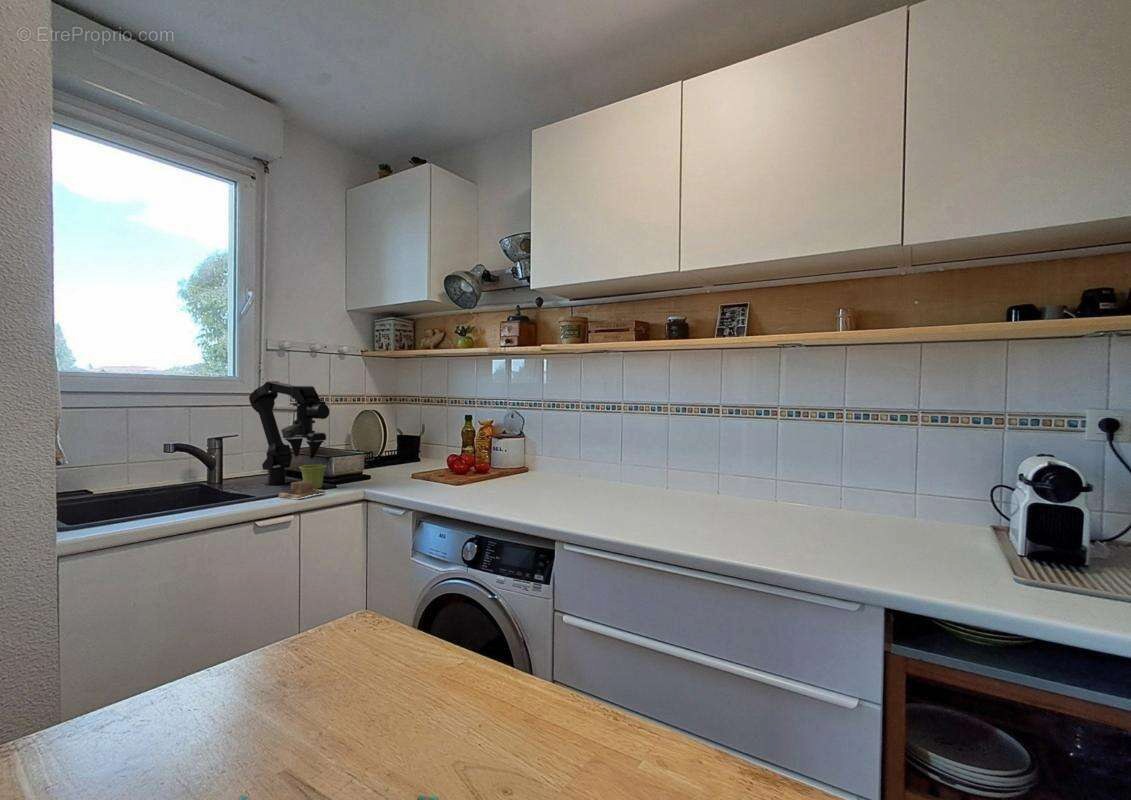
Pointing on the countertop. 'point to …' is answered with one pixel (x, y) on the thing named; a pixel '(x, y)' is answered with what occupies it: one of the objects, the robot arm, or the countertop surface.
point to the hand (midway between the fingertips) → (304, 457)
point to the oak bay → (315, 491)
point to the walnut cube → (301, 487)
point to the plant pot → (313, 474)
